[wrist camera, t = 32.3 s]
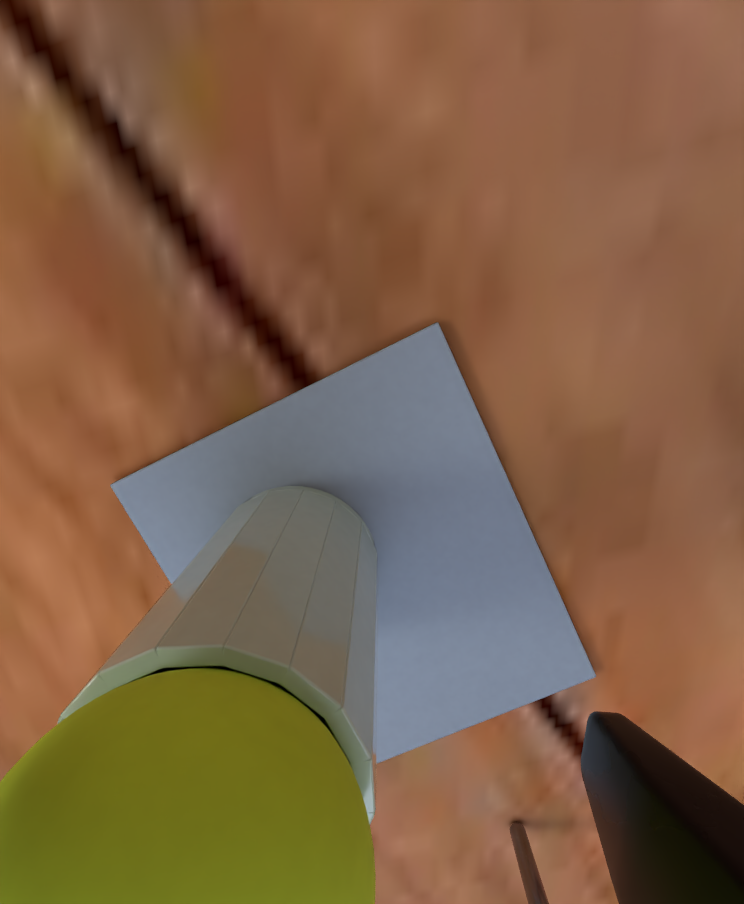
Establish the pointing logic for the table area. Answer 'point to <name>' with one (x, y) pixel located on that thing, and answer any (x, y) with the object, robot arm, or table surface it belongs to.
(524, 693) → the mat
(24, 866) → the ball
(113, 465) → the table surface
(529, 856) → the juicer
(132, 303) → the table surface
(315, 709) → the cup
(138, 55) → the table surface
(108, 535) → the table surface
